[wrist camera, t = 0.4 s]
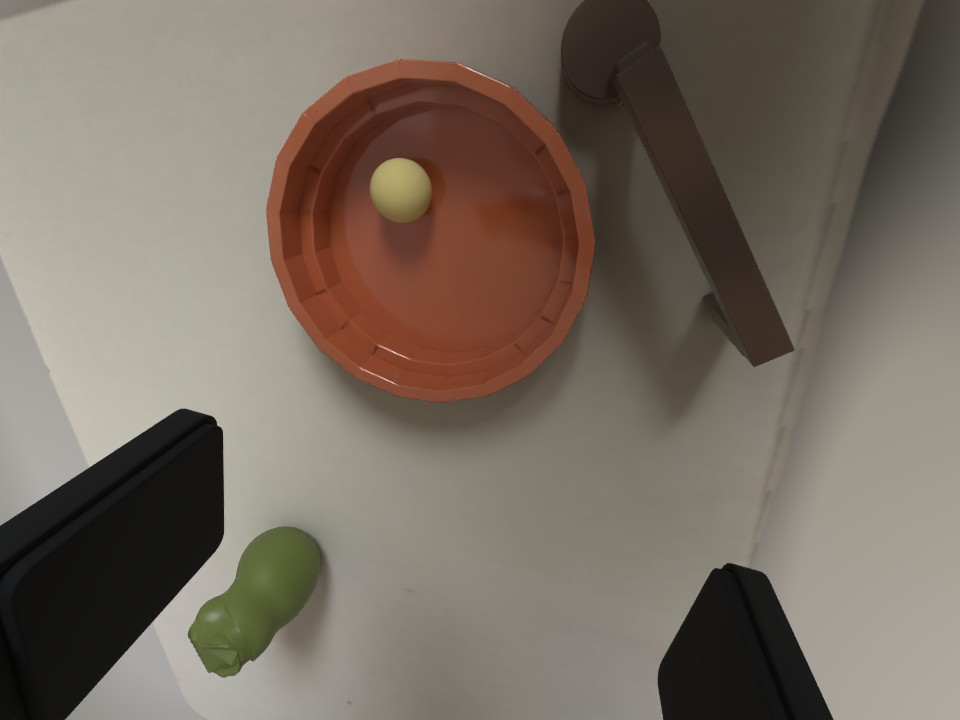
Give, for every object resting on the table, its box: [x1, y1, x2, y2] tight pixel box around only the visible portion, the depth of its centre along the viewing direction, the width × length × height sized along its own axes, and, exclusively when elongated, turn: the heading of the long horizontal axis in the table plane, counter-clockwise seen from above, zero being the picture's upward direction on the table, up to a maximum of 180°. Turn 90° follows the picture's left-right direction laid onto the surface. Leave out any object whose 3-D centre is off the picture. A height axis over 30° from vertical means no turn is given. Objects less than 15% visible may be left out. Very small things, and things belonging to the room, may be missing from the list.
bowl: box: [266, 59, 595, 403], centre depth 25 cm, size 15×15×4 cm
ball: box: [370, 158, 432, 223], centre depth 24 cm, size 3×3×3 cm
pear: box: [188, 527, 321, 678], centre depth 33 cm, size 6×5×10 cm
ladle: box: [561, 0, 794, 367], centre depth 21 cm, size 16×4×6 cm, turn 32°
